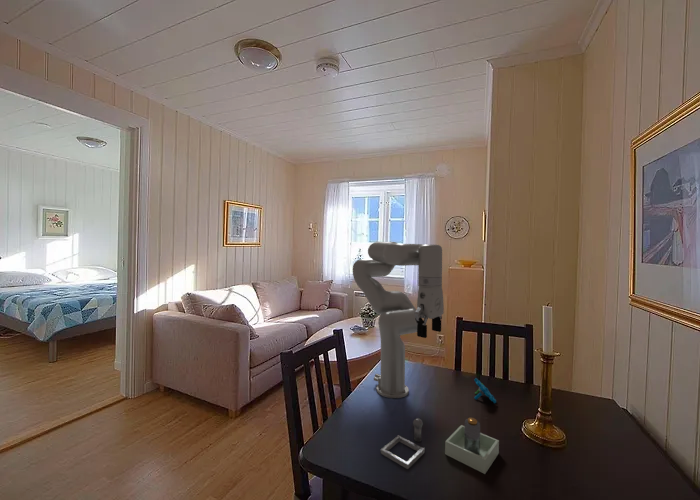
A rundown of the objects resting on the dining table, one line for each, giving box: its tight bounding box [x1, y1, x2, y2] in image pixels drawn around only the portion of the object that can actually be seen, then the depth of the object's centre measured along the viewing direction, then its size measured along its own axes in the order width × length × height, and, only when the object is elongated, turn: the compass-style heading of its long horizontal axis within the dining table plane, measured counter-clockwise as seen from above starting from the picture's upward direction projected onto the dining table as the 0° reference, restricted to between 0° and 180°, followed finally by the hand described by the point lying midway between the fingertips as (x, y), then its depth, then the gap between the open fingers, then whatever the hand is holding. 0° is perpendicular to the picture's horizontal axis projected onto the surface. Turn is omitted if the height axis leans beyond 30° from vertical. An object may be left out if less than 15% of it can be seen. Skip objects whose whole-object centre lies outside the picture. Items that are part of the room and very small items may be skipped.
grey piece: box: [380, 417, 425, 470], centre depth 86 cm, size 9×14×6 cm, turn 137°
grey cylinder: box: [464, 417, 481, 455], centre depth 84 cm, size 4×4×9 cm
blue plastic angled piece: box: [473, 377, 497, 404], centre depth 114 cm, size 11×6×10 cm
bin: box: [444, 424, 500, 475], centre depth 84 cm, size 11×11×4 cm
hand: (429, 333), depth 100 cm, fingers open, 9 cm apart
